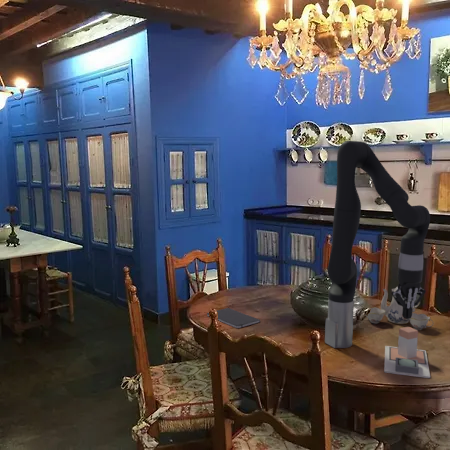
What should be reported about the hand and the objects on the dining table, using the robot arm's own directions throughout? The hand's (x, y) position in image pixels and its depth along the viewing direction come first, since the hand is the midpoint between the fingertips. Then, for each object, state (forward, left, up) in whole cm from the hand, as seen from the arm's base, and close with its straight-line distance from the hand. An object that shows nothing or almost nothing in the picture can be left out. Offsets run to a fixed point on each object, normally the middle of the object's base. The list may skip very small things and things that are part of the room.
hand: (406, 317), depth 168 cm
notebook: (-30, +69, -18) cm, 78 cm away
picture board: (+4, +4, -17) cm, 18 cm away
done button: (-1, -2, -16) cm, 17 cm away
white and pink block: (+7, +6, -17) cm, 19 cm away
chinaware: (+30, +35, -18) cm, 50 cm away
